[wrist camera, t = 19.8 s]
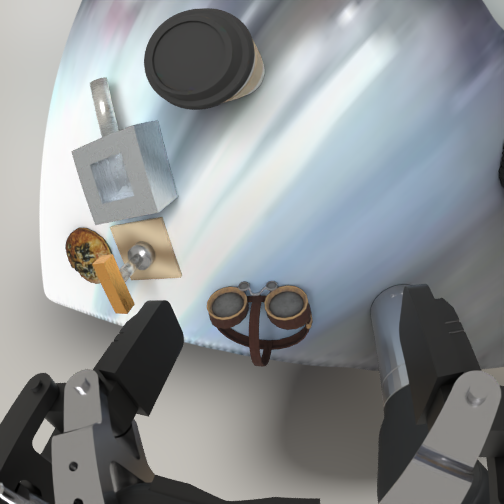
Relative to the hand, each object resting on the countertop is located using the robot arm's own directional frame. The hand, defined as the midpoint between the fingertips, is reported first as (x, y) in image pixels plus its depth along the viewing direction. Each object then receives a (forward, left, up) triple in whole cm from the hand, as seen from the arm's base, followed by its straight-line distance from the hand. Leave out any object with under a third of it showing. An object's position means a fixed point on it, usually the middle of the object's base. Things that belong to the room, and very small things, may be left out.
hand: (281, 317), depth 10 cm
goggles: (-23, +9, -28) cm, 38 cm away
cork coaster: (-10, +26, -28) cm, 40 cm away
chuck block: (+7, +23, -28) cm, 37 cm away
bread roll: (-10, +39, -29) cm, 49 cm away
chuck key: (-10, +26, -28) cm, 39 cm away
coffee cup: (+12, +6, -28) cm, 31 cm away
